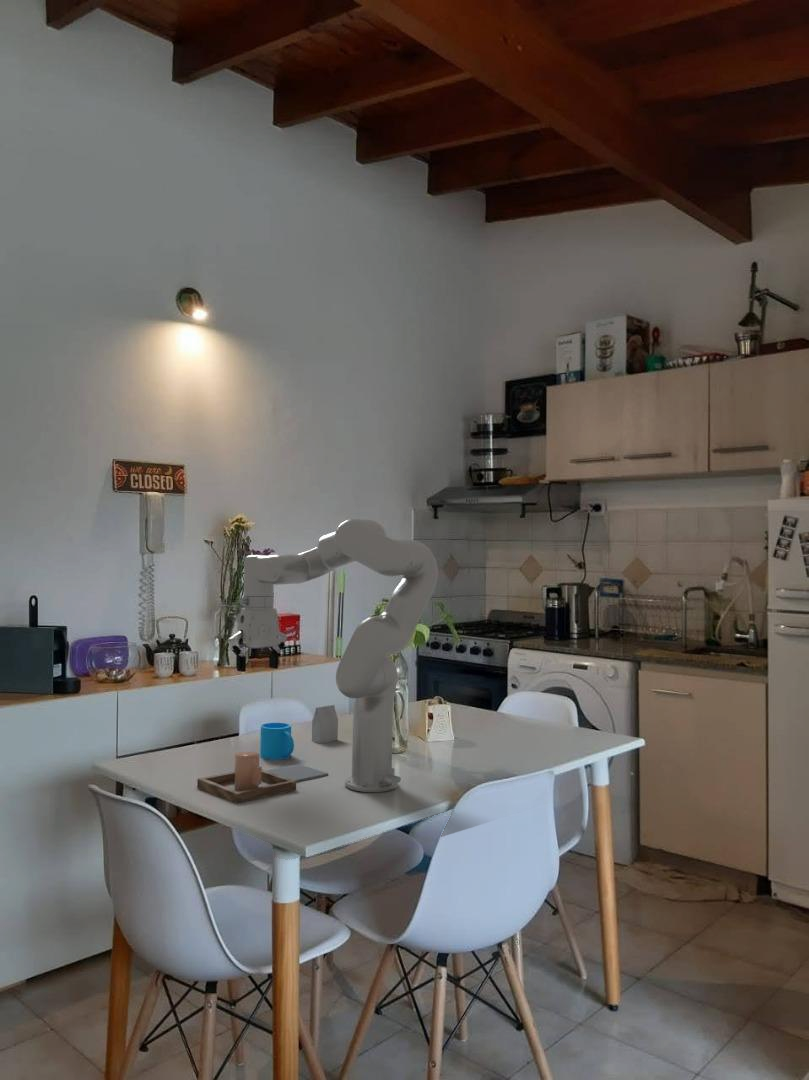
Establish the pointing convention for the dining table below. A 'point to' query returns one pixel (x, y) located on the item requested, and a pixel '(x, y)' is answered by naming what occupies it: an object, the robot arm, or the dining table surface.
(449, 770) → the dining table surface
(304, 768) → the mat
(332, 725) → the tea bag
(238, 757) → the jug
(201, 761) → the dining table surface
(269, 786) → the wooden square frame
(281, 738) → the mug
